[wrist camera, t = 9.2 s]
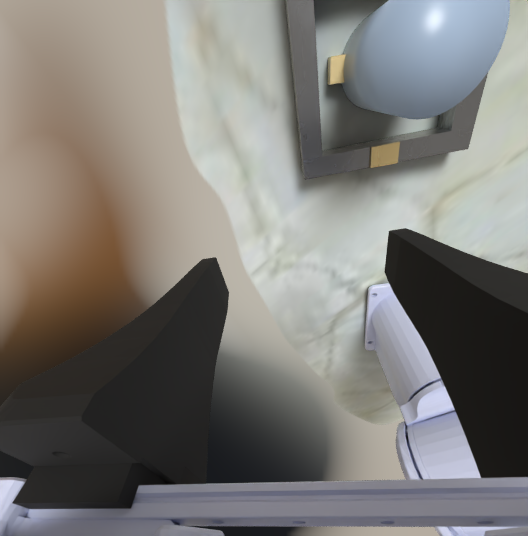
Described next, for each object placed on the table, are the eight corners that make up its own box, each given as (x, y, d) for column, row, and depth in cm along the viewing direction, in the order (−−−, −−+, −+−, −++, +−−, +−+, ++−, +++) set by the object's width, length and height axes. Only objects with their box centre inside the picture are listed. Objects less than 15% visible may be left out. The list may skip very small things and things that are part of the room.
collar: (453, 144, 16) (470, 149, 15) (302, 173, 17) (305, 180, 16) (509, -106, 11) (545, -135, 9) (281, -35, 12) (282, -52, 10)
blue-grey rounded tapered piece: (447, -4, 12) (561, -65, 7) (425, 101, 15) (499, 108, 10) (328, 18, 13) (362, -25, 8) (327, 116, 15) (352, 129, 11)
